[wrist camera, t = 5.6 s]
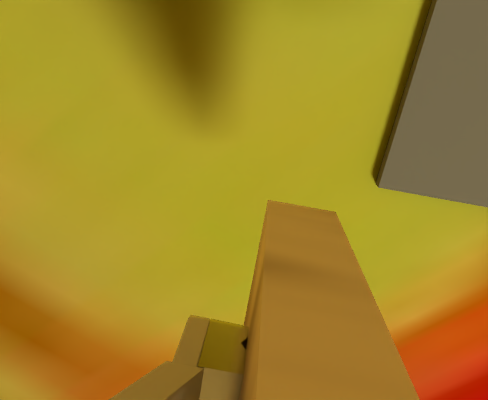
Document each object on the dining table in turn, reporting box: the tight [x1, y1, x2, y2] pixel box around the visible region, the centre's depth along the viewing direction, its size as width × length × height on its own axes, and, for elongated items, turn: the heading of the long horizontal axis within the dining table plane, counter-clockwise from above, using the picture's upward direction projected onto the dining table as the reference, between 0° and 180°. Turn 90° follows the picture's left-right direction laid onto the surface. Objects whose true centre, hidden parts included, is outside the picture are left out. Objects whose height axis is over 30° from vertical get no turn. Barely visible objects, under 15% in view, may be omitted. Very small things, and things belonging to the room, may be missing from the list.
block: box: [239, 200, 419, 400], centre depth 8 cm, size 6×2×7 cm, turn 171°
